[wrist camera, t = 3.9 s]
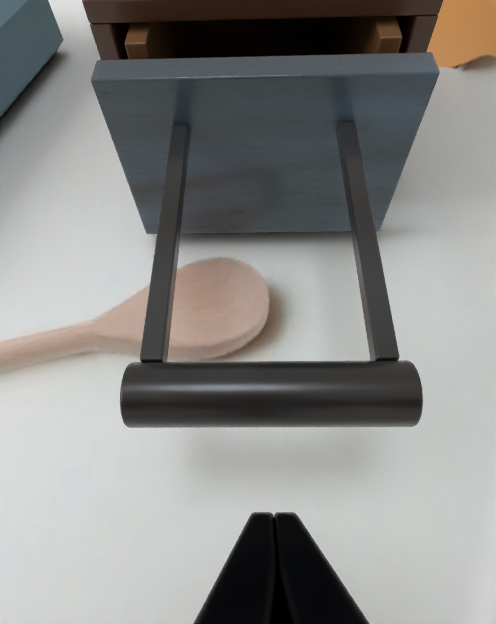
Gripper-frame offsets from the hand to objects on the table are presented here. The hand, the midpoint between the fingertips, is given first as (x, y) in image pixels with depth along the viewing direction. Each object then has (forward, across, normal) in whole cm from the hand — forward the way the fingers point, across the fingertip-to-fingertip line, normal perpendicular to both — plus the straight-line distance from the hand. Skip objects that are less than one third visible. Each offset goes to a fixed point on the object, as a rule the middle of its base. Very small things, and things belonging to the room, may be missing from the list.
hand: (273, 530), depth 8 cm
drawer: (+16, 0, -6) cm, 17 cm away
